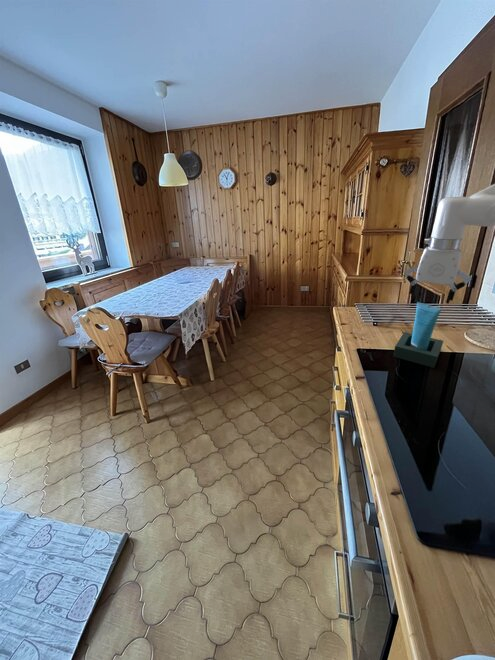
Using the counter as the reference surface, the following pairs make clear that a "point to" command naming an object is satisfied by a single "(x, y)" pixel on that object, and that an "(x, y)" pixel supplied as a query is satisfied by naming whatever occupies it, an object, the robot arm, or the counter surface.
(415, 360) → the dark green square tray
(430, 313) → the tube
